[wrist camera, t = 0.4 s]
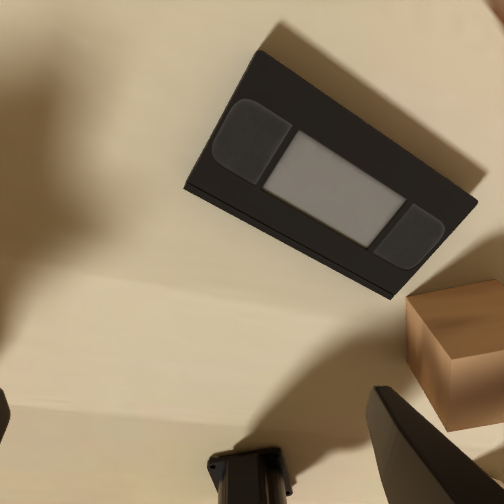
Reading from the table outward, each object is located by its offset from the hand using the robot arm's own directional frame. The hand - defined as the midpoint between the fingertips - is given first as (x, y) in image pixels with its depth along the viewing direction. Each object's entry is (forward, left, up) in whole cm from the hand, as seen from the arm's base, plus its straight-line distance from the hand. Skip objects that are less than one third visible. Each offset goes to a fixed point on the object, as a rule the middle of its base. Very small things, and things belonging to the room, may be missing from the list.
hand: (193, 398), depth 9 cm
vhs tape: (0, -7, -15) cm, 16 cm away
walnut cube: (-12, -14, -14) cm, 23 cm away
